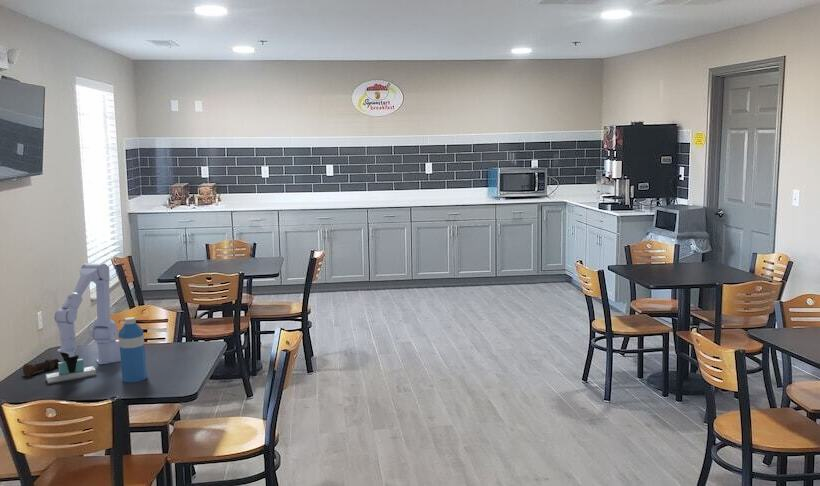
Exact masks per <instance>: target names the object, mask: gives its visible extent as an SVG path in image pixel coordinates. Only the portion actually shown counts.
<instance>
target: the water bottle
mask: <svg viewBox="0 0 820 486" xmlns="http://www.w3.org/2000/svg"><path fill="white" fill-rule="evenodd" d="M144 338H145V334H144V329H143V328H141V326H140V325H139V324H138V323H137V321H136V317H133V316H130V317H125V318H124V324H123V325H122V327H121V328H120V331H118V340H119V345H120V357H121V361H120V366H121V378H122V380H121V381H122V382H124V383H139V382H143V381H145V380H146V379H147V378H148V376H147V375H148V373H147V360H146V348H145V339H144Z"/></svg>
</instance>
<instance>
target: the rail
mask: <svg viewBox="0 0 820 486" xmlns="http://www.w3.org/2000/svg"><path fill="white" fill-rule="evenodd" d="M95 376H97V369H96V368H95V366H94V365H92V366H87V367H85V366H84V371H81V372H74V373H67V374H64V375H60V374H59V371H58V372H52V373H46V374H45V379H46V382H47V385H51V384H57V383H62V382H68V381H73V380H79V379H83V378H84V379H85V378H89V377H95Z"/></svg>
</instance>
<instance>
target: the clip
mask: <svg viewBox="0 0 820 486" xmlns="http://www.w3.org/2000/svg"><path fill="white" fill-rule="evenodd" d="M57 367H58V372H59V374H60V375H64V374H67V373H69V370H68V367H67V363H66V361H64V360H63V361H60V362H58V366H57ZM84 368H85V366H84V360H83V358H78V360H77V363H76V370H75V372H81V371H84Z"/></svg>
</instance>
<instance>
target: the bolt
mask: <svg viewBox="0 0 820 486" xmlns="http://www.w3.org/2000/svg"><path fill="white" fill-rule="evenodd" d="M58 362H61V360H59V359H58V358H55V359H52V358H47V359H45V360H44V361H42V362H40V363H36V364H32V363H29V362H28V363H24V364H23V366H22V373H23V375H24V376H25V377H33V376H34V374H35V373H37V372H41V371H45V370H48V371H52V370H54V368H55V367H57V368H58V367H59V366H58Z"/></svg>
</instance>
